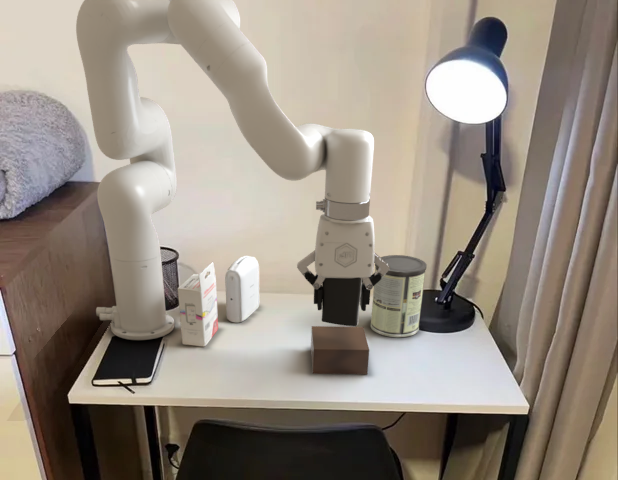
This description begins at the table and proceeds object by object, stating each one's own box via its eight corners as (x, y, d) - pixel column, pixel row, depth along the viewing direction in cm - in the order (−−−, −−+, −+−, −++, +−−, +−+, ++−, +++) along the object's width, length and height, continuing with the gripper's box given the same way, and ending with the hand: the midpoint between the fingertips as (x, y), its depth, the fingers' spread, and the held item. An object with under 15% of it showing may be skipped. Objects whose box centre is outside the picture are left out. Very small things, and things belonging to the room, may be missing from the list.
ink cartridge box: (195, 327, 137) (191, 258, 129) (218, 329, 136) (216, 260, 129) (180, 344, 130) (175, 272, 122) (204, 347, 129) (201, 275, 121)
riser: (312, 373, 121) (313, 349, 118) (310, 349, 129) (311, 326, 127) (367, 374, 121) (369, 349, 119) (361, 350, 130) (363, 326, 127)
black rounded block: (361, 320, 122) (366, 260, 116) (357, 328, 119) (361, 266, 113) (325, 315, 124) (327, 255, 118) (319, 323, 120) (322, 262, 115)
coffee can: (377, 314, 145) (383, 251, 138) (423, 322, 142) (432, 259, 135) (363, 332, 137) (368, 266, 130) (411, 341, 134) (419, 274, 127)
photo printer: (242, 324, 139) (241, 267, 132) (223, 321, 140) (221, 264, 134) (262, 307, 147) (261, 252, 141) (244, 304, 148) (243, 250, 142)
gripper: (295, 214, 107) (293, 315, 116) (401, 216, 108) (391, 316, 117) (294, 202, 114) (292, 299, 123) (395, 204, 114) (386, 300, 123)
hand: (341, 307), depth 120 cm, fingers closed on black rounded block, 7 cm apart
